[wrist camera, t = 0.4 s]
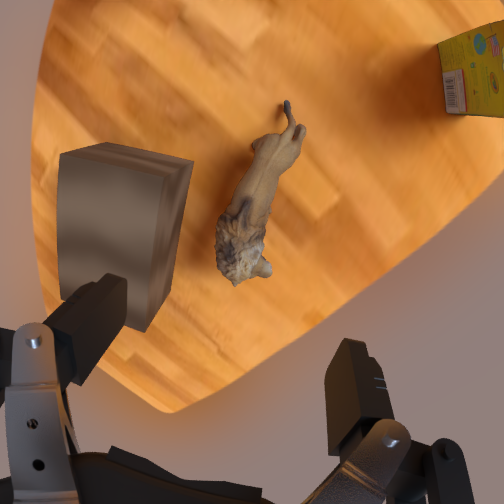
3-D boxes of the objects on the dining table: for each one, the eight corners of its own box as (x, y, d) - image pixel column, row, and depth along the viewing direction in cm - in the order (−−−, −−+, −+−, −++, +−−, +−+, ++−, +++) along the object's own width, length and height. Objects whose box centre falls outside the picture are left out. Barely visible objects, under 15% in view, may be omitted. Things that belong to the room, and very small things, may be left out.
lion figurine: (272, 253, 32) (265, 302, 24) (221, 239, 32) (197, 284, 24) (314, 108, 26) (325, 104, 18) (256, 93, 26) (241, 82, 18)
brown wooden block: (107, 141, 29) (59, 153, 22) (194, 161, 29) (163, 177, 22) (97, 265, 35) (60, 299, 28) (171, 290, 35) (144, 332, 28)
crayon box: (468, 115, 23) (543, 126, 13) (445, 113, 24) (517, 121, 13) (460, 46, 20) (531, 27, 10) (436, 41, 21) (503, 17, 10)
